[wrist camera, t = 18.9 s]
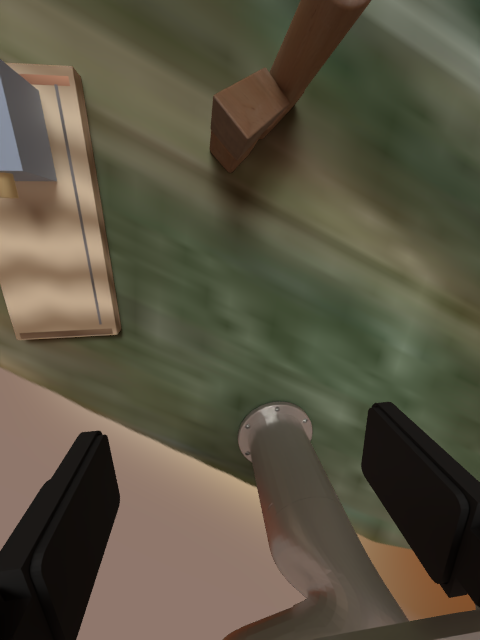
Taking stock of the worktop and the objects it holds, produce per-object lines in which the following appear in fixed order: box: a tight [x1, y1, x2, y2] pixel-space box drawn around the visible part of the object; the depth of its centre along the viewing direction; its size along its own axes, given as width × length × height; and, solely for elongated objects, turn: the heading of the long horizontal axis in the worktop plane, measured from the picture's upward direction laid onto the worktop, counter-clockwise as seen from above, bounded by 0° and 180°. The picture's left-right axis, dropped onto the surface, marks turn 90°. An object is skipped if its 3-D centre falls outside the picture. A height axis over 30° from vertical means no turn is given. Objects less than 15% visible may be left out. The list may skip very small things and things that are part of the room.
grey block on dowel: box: [0, 59, 57, 198], centre depth 25 cm, size 12×5×6 cm, turn 1°
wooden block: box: [210, 0, 371, 173], centre depth 23 cm, size 4×11×18 cm, turn 134°
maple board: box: [0, 63, 121, 340], centre depth 31 cm, size 28×12×2 cm, turn 1°
